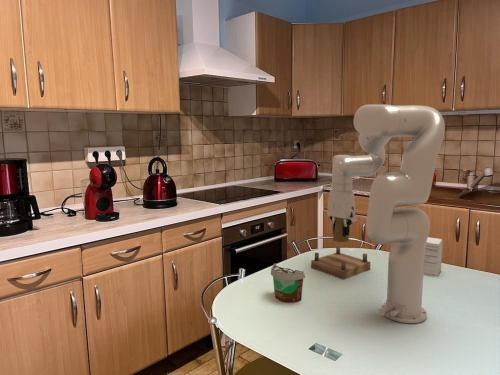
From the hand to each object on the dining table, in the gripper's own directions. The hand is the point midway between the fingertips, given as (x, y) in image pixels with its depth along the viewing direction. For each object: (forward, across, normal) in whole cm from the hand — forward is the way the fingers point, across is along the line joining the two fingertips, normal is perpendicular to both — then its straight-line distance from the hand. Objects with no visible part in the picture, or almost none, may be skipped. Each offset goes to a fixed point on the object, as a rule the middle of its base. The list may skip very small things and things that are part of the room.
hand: (341, 234), depth 152 cm
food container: (+14, +6, -36) cm, 39 cm away
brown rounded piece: (+2, 0, 0) cm, 2 cm away
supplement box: (+14, +24, +22) cm, 36 cm away
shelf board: (+14, 0, 0) cm, 14 cm away
